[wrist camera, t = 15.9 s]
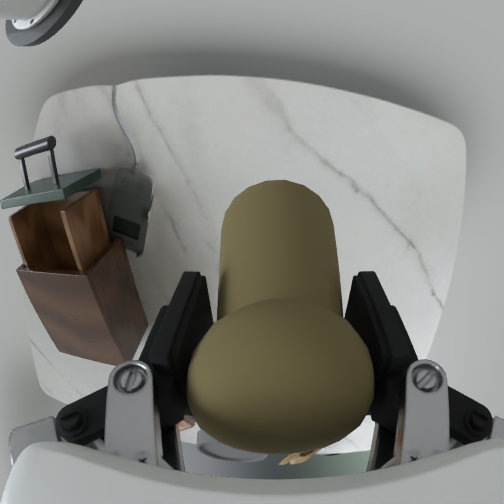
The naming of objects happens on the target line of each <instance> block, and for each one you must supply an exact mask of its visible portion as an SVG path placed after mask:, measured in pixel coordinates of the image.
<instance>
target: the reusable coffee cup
mask: <svg viewBox="0 0 504 504" xmlns="http://www.w3.org/2000/svg"><path fill="white" fill-rule="evenodd" d="M197 449H198V451H199V452H201V453H202V454H204V455H206V456H209V457H211V458H214V459H218V460H223V461H230V462H239V463H245V462H246V463H247V462H257V461H261V460H263V459H265V458H267V456H268V454H261V453H252V452H247V451H243V450H239V449H235V448H232V447H230V446H227V445H225V444H223V443H220V442H219V441H217V440H216V439H214V438H213V437H211V436H210V435H209V434H207V433H206V432H205V431H203V430H202V429H201V430H199V431H198V433H197Z"/></svg>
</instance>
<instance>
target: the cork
mask: <svg viewBox="0 0 504 504" xmlns="http://www.w3.org/2000/svg"><path fill="white" fill-rule="evenodd" d="M186 393H187V403H188V405H189V407H190V410H191V412H192V414H193V416H194V418H195V420H196V422H197V424H198V426H199V427H200V428H201V429H202V430H203V431H205V432H206V433H207V434H209V435H210V436H211V437H213V438H214V439H216V440H217V441H219V442H220V443H223V444H225V445H227V446H230V447H232V448H235V449H239V450H243V451H247V452H252V453H261V454H294V453H302V452H309V451H313V450H316V449H320V448H324V447H327V446H329V445H331V444H333V443H336V442H338V441H340V440H341V439H343V438H344V437H346V436H347V435H348V434H350V433H351V432H352V431H354V430H355V429H356V428H358V427H359V426H360V425H361V423H362V421H363V420H364V418H365V416H366V415H367V412H368V410H369V408H370V405H371V403H372V401H373V398H374V371H373V364H372V361H371V357H370V354H369V351H368V348H367V346H366V345H365V343H364V342H363V340H362V339H361V337H360V336H359V335H358V333H357V332H356V331H355V330H354V328H353V327H352V326H351V325H350V323H349V322H348V321H347V320H346V319H344V318H343V307H342V295H341V284H340V274H339V265H338V256H337V248H336V240H335V233H334V226H333V222H332V218H331V215H330V212H329V209H328V208H327V206H326V205H325V203H324V202H323V201H322V199H321V198H320V197H319V195H317V194H316V193H314V192H313V191H311V190H310V189H308V188H307V187H306V186H304V185H301V184H297V183H294V182H290V181H287V180H274V181H264V182H262V183H259V184H256V185H253V186H250V187H248V188H247V189H246V190H244V191H243V192H242V193H241V194H239V195H238V196H237V197H235V198H234V200H233V201H232V203H231V204H230V206H229V208H228V209H227V211H226V212H225V216H224V221H223V225H222V234H221V250H220V267H219V286H218V308H217V321H216V322H215V323H214V324H213V325H212V326H211V328H210V329H209V330H208V331H207V333H206V334H205V335H204V336H203V338H202V339H201V341H200V342H199V344H198V345H197V347H196V348H195V350H194V351H193V354H192V358H191V361H190V365H189V368H188V374H187V382H186Z"/></svg>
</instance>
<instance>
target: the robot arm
mask: <svg viewBox="0 0 504 504" xmlns="http://www.w3.org/2000/svg"><path fill="white" fill-rule="evenodd" d="M58 1H59V0H0V19H6V20H12V23H13V25H14V27H15V28H17V29H21V30H26V29H30V28H32V27H34V26H36V25H37V24H38V23H40V22H41V21H42V20H43V19H44V18H45V17H46V16H47V15H48V14H49V13H50V12H51V11H52V10H53V8H54V7H55V5H56V4H57V3H58ZM344 319H346V320H347V321H348V322H349V323H350V325H351V326H352V327H353V328H354V330H355V331H356V332H357V333H358V335H359V336H360V337H361V339H362V340H363V342H364V343H365V345H366V346H367V348H368V351H369V354H370V357H371V361H372V364H373V371H374V398H373V401H372V403H371V405H370V408H369V410H368V412H367V415H371V419H372V420H373V421H374V422H375V428H374V434H373V440H372V445H371V451H370V456H369V461H368V465H367V470H366V472H362V473H356V474H350V475H341V476H333V477H323V478H310V479H287V480H286V479H285V480H266V479H264V480H262V479H242V478H229V477H218V476H209V475H202V474H195V473H188V472H185V466H184V460H183V453H182V446H181V439H180V431H179V422H181V421H183V420H184V416H185V415H188V416H192V415H193V414H192V412H191V410H190V407H189V405H188V403H187V393H186V382H187V374H188V368H189V365H190V361H191V358H192V354H193V351H194V350H195V348H196V347H197V345H198V344H199V342H200V341H201V339H202V338H203V336H204V335H205V334H206V333H207V331H208V330H209V329H210V328H211V326H212V325H213V324H214V323H213V317H212V312H211V306H210V300H209V294H208V288H207V282H206V277H205V276H201V274H200V272H187V271H185V272H184V273H183V275H182V277H181V279H180V281H179V284H178V286H177V288H176V290H175V293H174V295H173V297H172V299H171V302H170V304H169V306H163V307H162V308H161V309H160V311H159V314H158V316H157V318H156V320H155V323H154V325H153V327H152V329H151V332H150V334H149V336H148V339H147V341H146V343H145V346H144V348H143V350H142V353H141V355H140V358H139V360H129V361H124V362H122V363H120V364H118V365H117V366H116V367H115V368H114V369H113V370H112V372H111V373H110V376H109V380H108V386H106V387H104V388H102V389H100V390H98V391H96V392H94V393H92V394H90V395H88V396H86V397H83V398H81V399H79V400H77V401H75V402H73V403H71V404H69V405H67V406H65V407H64V408H62V410H61V411H60V412H59V413H58V415H57V417H56V418H54V417H53V416H50V417H47V418H44V419H41V420H39V421H35V422H32V423H29V424H26V425H23V426H20V427H17V428H15V429H13V431H12V432H11V433H10V436H9V449H10V455H11V461H12V466H13V468H12V471H11V473H10V475H9V478H8V481H7V483H6V487H5V489H4V492H3V496H2V499H1V503H0V504H504V419H502V418H499V417H497V416H495V417H494V418H492V416H491V413H490V412H489V410H488V409H487V408H486V407H485V406H484V405H482V404H480V403H478V402H476V401H474V400H473V399H471V398H469V397H467V396H465V395H464V394H462V393H460V392H458V391H456V390H455V389H453V388H451V387H449V386H448V385H447V377H446V373H445V372H444V370H443V368H442V367H441V366H440V365H439V364H437V363H435V362H434V361H430V360H427V359H424V360H418V358H417V355H416V353H415V350H414V348H413V345H412V343H411V340H410V338H409V336H408V333H407V331H406V329H405V326H404V324H403V322H402V320H401V317H400V315H399V313H398V311H397V309H396V307H395V306H393V305H390V303H389V301H388V299H387V296H386V294H385V292H384V290H383V288H382V286H381V284H380V282H379V279H378V277H377V275H376V273H375V272H374V271H362V272H359V273H358V276H354V277H353V280H352V285H351V290H350V295H349V300H348V304H347V309H346V313H345V318H344Z"/></svg>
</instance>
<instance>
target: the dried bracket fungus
mask: <svg viewBox="0 0 504 504" xmlns="http://www.w3.org/2000/svg"><path fill="white" fill-rule="evenodd" d="M320 449H322V448H320ZM320 449H316V450H313V451H309V452H302V453H294V454H290V455H289V456H288V457H286V458H285V459H284V460H283V461H282V462H281V463H280V464H279V465H284V464H286V463H288V462H290V464H296V463H301V462H304V461H306V460H307V459H309V458H310V457H311V456H312V455H314V454H315V453H316V452H317V451H319V450H320Z"/></svg>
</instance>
